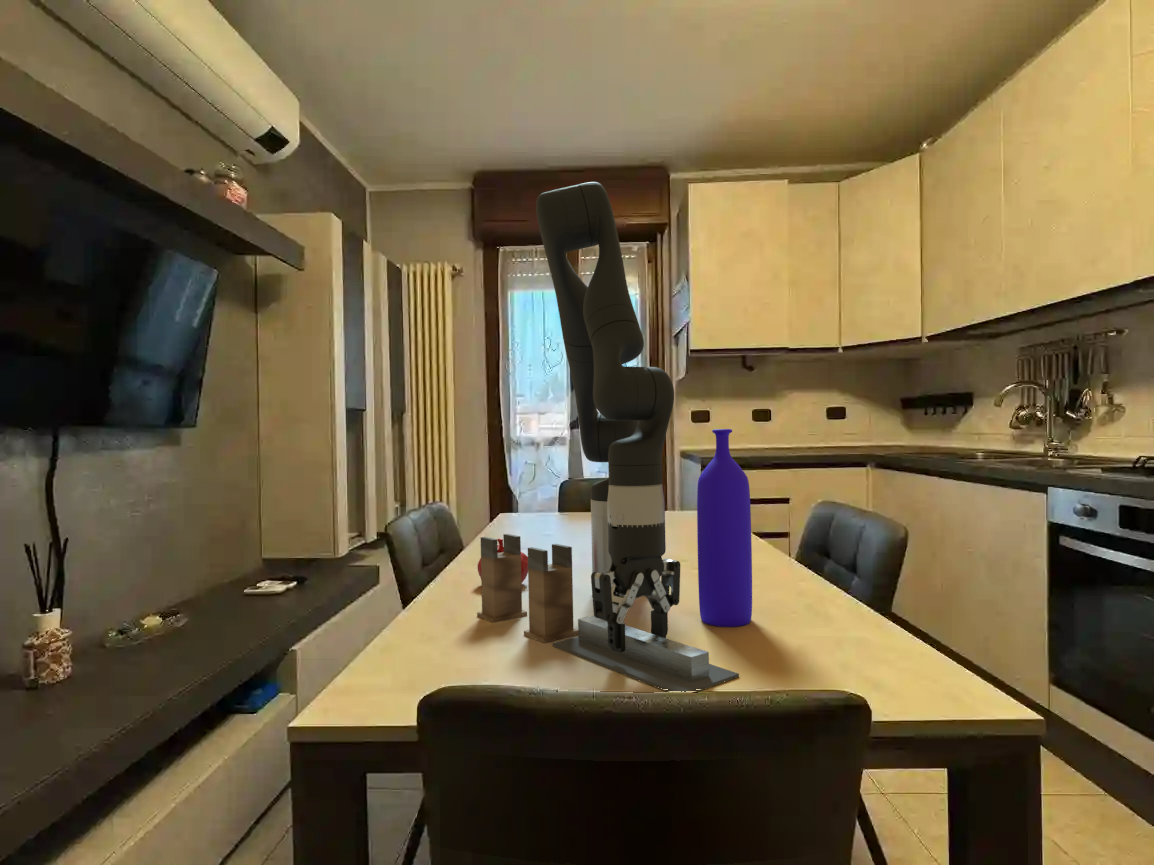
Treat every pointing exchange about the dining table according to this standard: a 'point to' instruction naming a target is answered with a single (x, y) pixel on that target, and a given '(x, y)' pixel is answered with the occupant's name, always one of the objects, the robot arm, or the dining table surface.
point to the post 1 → (501, 579)
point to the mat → (643, 668)
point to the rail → (649, 650)
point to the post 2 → (550, 594)
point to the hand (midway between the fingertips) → (638, 644)
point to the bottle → (724, 540)
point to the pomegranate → (523, 561)
